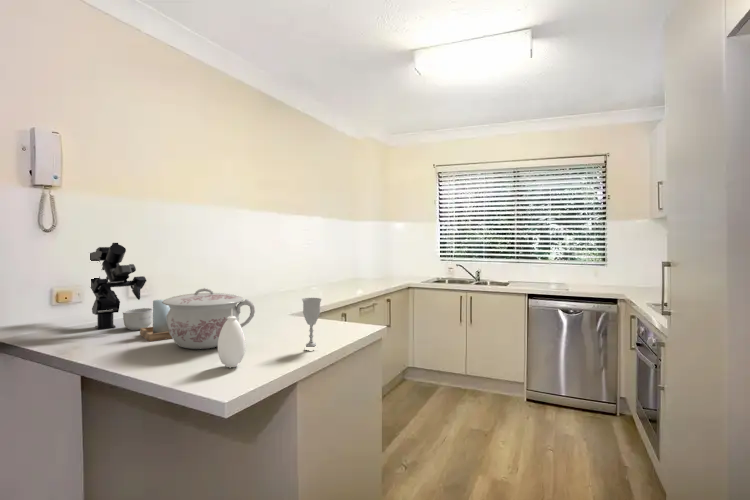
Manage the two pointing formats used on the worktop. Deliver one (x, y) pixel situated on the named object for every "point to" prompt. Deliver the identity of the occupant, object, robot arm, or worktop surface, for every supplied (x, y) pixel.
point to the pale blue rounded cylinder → (160, 316)
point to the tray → (149, 335)
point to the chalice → (311, 315)
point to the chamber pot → (202, 317)
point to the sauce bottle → (231, 342)
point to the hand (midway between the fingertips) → (127, 300)
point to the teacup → (137, 318)
